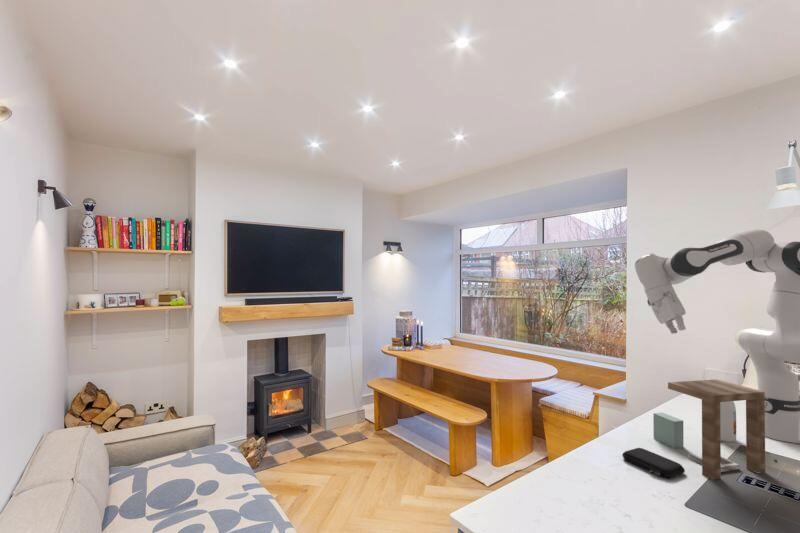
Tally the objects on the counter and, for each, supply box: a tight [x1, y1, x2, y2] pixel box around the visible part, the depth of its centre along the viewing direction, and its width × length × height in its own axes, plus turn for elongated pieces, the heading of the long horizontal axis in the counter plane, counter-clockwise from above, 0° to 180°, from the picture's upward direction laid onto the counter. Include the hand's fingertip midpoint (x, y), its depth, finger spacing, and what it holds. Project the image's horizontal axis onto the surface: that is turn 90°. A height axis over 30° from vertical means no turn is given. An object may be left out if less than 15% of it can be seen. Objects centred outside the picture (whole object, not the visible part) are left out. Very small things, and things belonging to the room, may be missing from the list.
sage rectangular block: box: [653, 412, 684, 449], centre depth 134 cm, size 4×8×9 cm, turn 13°
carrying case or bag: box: [622, 447, 686, 480], centre depth 117 cm, size 11×3×15 cm
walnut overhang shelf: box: [667, 379, 766, 481], centre depth 119 cm, size 20×14×24 cm
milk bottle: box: [720, 401, 737, 443], centre depth 139 cm, size 8×8×20 cm
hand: (678, 331), depth 137 cm, fingers open, 8 cm apart
